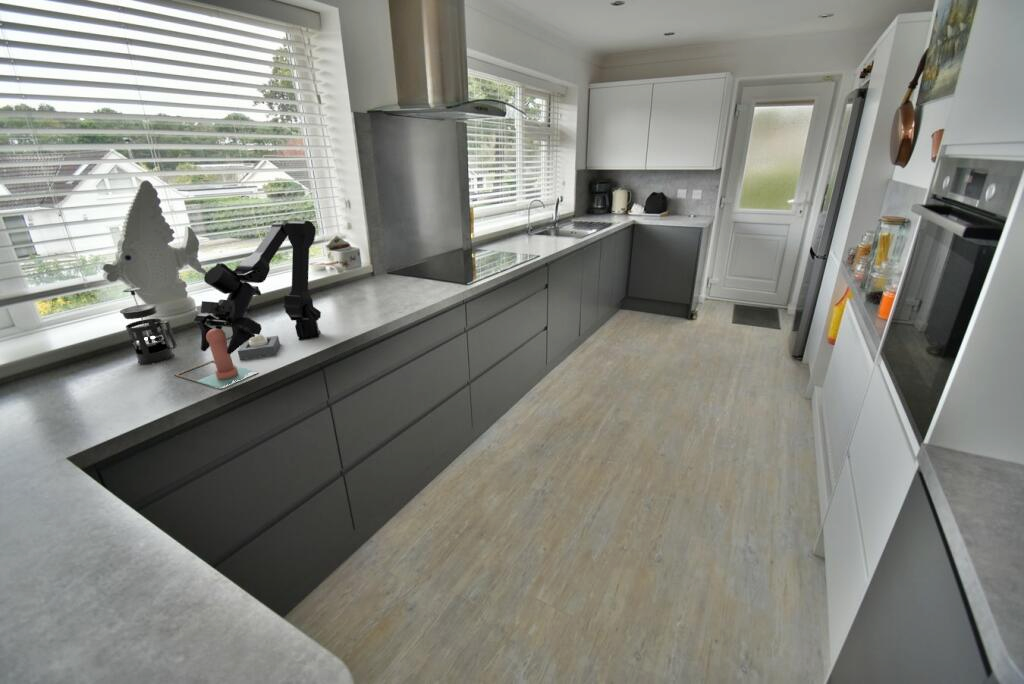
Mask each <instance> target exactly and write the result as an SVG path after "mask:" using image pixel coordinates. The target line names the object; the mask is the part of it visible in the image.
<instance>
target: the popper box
mask: <svg viewBox="0 0 1024 684" xmlns="http://www.w3.org/2000/svg"><path fill="white" fill-rule="evenodd" d="M265 337H266V338H267V341H268V345H264V346H257V347H250V345H249V340H250V339H251V338H250V339H249V340H248V341H246V342H245V343H243V344H242V345H241V346H240V347H239V348H237V354H238V358H239V360H240V359H243V360H247V359H246V358H250V359H254V358H253V357H257V358H260V357H259V356H264V357H268V356H267V355H271V356H275V355H276V354H277V352H278V350H279V347H280V344H281V342H280V337H279V335H272V336H265ZM277 349H278V350H277Z"/></svg>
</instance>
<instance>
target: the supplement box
mask: <svg viewBox="0 0 1024 684" xmlns="http://www.w3.org/2000/svg"><path fill="white" fill-rule="evenodd" d="M219 300H220V299H217V300H216V299H213V300H209V301H208V302H219ZM201 305H202V303H201V304H199V305H195V307H196V311H197V315H199V314H208V315H211V316H213V314H211V313H201ZM213 317H215V316H213ZM215 318H217V319H219V318H218V317H215ZM224 324H226V323H224ZM221 330H222V331H224V333H225V334H226V340H228V339H230V338H232V337H231V336H232V335H233V331H232V327H222V329H221Z"/></svg>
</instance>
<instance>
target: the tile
mask: <svg viewBox="0 0 1024 684" xmlns="http://www.w3.org/2000/svg"><path fill="white" fill-rule="evenodd" d="M235 366H236V367H237V371H238V376H236V377H234V378H232V379H228V380H218V379H217V376H216V373H215V372H214V373H212V374H213V375H212V374H209V375H208V377H207V376H205V377H203V379H202V378H200V379H197V380H198V381H197V382H199V383H198V384H200V383H202V384H201V385H203V384H205V385H204V386H207V385H208V386H207V387H210V386H213V387H217V388H221V387H223V386H224V385H225V386H226V385H227V384H228V385H229V384H231V383H232V381H233V380H234V381H235V380H236V381H237V380H241V379H243V378H244V377H245V375H246V374H247V375H248V373H250V372H253V371H254V372H255V371H256V370H252V369H248V368H246V367H245V368H244V367H242V366H237V365H235ZM247 375H246V376H247ZM236 381H235V382H236ZM197 382H196V383H197ZM213 387H212V388H213Z"/></svg>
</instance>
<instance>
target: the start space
mask: <svg viewBox="0 0 1024 684" xmlns="http://www.w3.org/2000/svg"><path fill="white" fill-rule="evenodd" d="M210 362H211V363H214V362H215V361H214V359H212V360H209V361H207V362H204V363H201V364H199V365H196V366H194V367H191V368H188V369H186V370H183V371H180V372H178V373H175V374H174V376H175V375H176V376H175V377H178V376H179V377H178V378H181V377H182V378H181V379H184V378H185V379H184V380H187V379H189V380H188V381H190V380H192V381H191V382H194V381H196V382H195V383H197V381H198V380H199V379H194V378H191V377H188V376H185V375H182V374H181V373H183V374H185V373H188V372H190V371H193V370H195V369H194V368H196V369H197V367H198V368H200V366H201V367H203V366H206V365H208V363H209V364H211V363H210ZM205 364H206V365H205ZM192 369H193V370H192ZM189 370H190V371H189ZM187 371H188V372H187ZM184 372H185V373H184ZM179 374H180V375H179ZM213 374H214V373H212V374H211V375H213ZM208 376H209V375H208ZM208 376H206V377H208ZM203 378H204V377H203ZM203 378H201V379H203Z"/></svg>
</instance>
